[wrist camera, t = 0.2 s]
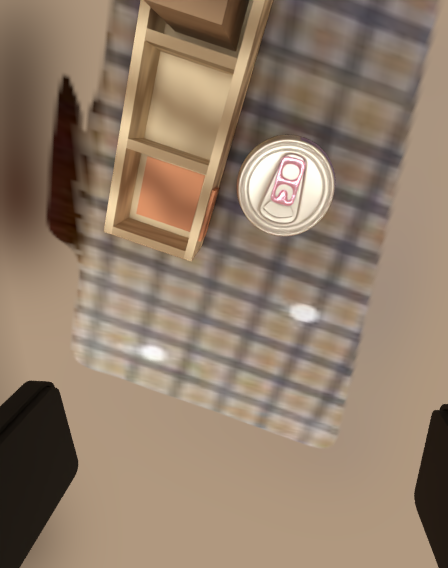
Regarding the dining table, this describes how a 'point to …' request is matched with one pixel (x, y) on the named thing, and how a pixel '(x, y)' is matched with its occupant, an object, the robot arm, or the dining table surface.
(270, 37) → the dining table surface
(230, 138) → the rack
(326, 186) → the beverage can
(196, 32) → the walnut block
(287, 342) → the dining table surface
